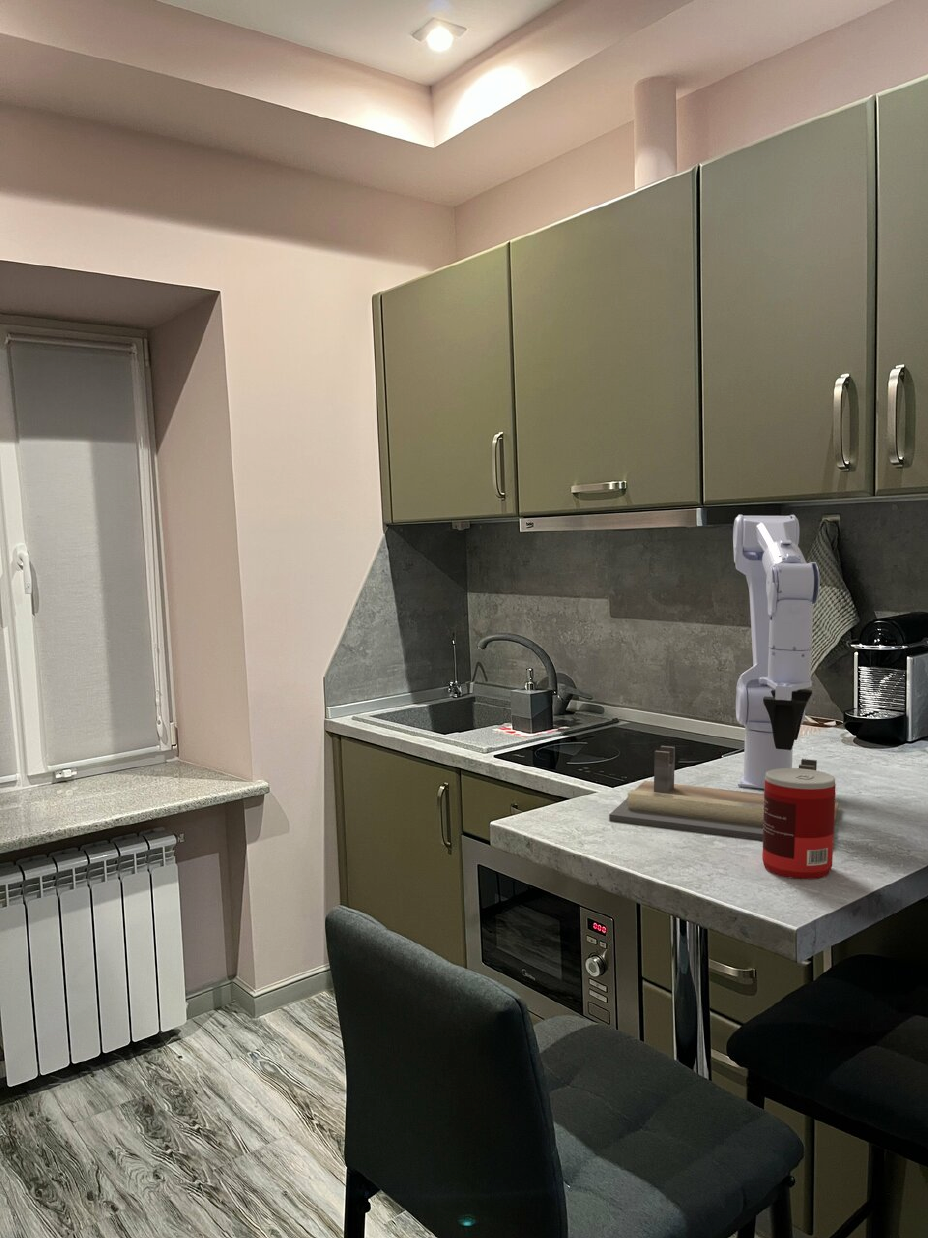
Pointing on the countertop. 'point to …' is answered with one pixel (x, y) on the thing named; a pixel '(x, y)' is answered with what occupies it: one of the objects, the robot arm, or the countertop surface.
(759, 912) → the countertop surface
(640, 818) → the mat
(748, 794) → the rack
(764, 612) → the robot arm
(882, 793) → the countertop surface
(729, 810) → the rail
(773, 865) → the canned food
